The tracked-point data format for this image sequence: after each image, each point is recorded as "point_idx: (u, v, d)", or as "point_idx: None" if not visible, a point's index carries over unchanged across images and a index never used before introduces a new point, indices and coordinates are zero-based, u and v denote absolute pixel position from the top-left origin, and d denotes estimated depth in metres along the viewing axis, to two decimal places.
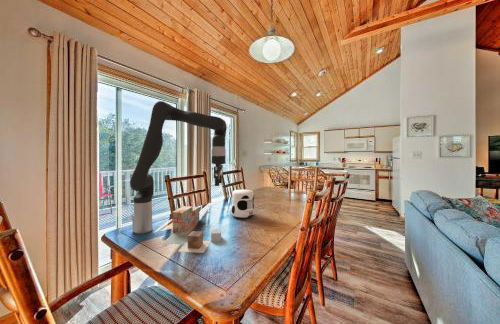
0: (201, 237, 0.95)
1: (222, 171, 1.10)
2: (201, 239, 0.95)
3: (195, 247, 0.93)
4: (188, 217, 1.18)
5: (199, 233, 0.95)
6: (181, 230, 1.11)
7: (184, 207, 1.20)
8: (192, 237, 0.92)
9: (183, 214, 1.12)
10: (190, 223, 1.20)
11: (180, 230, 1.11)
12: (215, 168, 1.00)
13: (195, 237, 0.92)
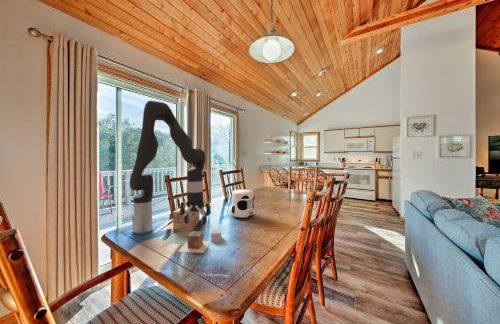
0: (201, 237, 0.95)
1: None
2: (201, 239, 0.95)
3: (195, 247, 0.93)
4: (189, 216, 1.18)
5: (199, 233, 0.95)
6: (181, 230, 1.11)
7: None
8: (192, 237, 0.92)
9: None
10: (190, 223, 1.20)
11: (180, 230, 1.11)
12: (209, 204, 0.93)
13: (195, 237, 0.92)
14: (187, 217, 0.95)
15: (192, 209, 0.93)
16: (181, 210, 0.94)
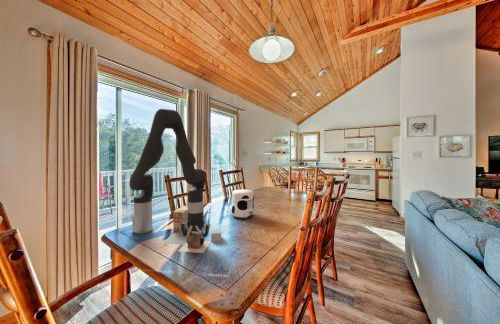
0: None
1: None
2: None
3: (195, 247, 0.93)
4: None
5: None
6: None
7: (184, 207, 1.20)
8: (192, 237, 0.92)
9: (184, 214, 1.12)
10: None
11: (181, 230, 1.12)
12: (208, 226, 0.94)
13: (195, 237, 0.92)
14: None
15: (193, 229, 0.94)
16: (183, 231, 0.94)
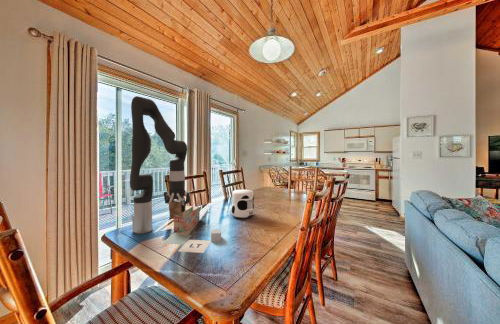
0: None
1: None
2: None
3: (176, 213, 0.99)
4: (189, 216, 1.18)
5: None
6: (182, 229, 1.12)
7: (185, 207, 1.20)
8: (174, 204, 0.99)
9: (184, 214, 1.12)
10: (191, 222, 1.21)
11: (181, 229, 1.12)
12: (189, 194, 1.00)
13: (177, 204, 0.99)
14: None
15: (175, 197, 1.00)
16: (165, 199, 1.01)
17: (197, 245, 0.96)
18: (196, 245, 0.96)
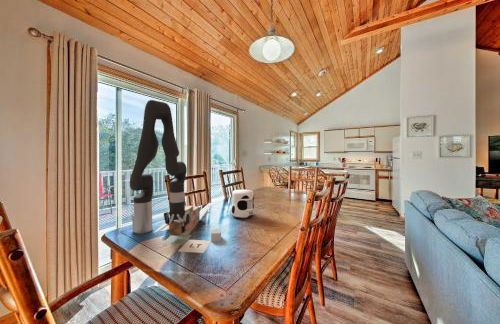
0: None
1: None
2: None
3: (176, 234, 0.99)
4: None
5: None
6: None
7: (185, 207, 1.21)
8: (174, 225, 0.99)
9: None
10: (191, 222, 1.21)
11: None
12: (189, 215, 1.01)
13: (177, 225, 0.99)
14: None
15: (175, 217, 1.01)
16: (165, 220, 1.01)
17: (197, 245, 0.96)
18: (196, 245, 0.96)
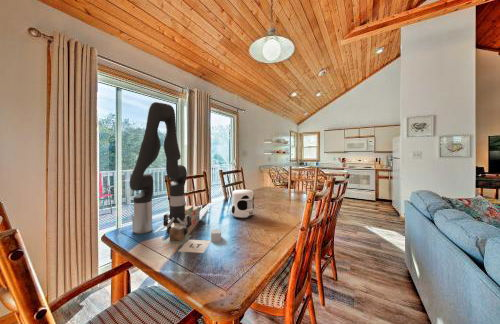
0: (182, 231, 1.03)
1: None
2: (182, 233, 1.03)
3: (176, 240, 1.00)
4: None
5: (181, 227, 1.02)
6: None
7: (185, 206, 1.21)
8: (174, 231, 0.99)
9: (185, 213, 1.13)
10: (191, 222, 1.21)
11: None
12: (189, 217, 1.01)
13: (177, 231, 0.99)
14: (170, 228, 1.03)
15: (174, 221, 1.01)
16: (164, 222, 1.01)
17: (197, 245, 0.96)
18: (196, 245, 0.96)
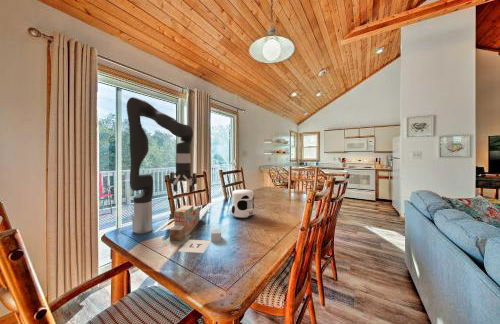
0: (182, 231, 1.03)
1: None
2: (182, 233, 1.03)
3: (176, 240, 1.00)
4: (190, 216, 1.19)
5: (181, 227, 1.02)
6: None
7: (185, 206, 1.21)
8: (174, 231, 0.99)
9: (185, 213, 1.13)
10: (191, 222, 1.21)
11: None
12: (195, 175, 1.04)
13: (177, 231, 0.99)
14: (176, 186, 1.06)
15: (180, 178, 1.04)
16: (170, 179, 1.05)
17: (197, 245, 0.96)
18: (196, 245, 0.96)
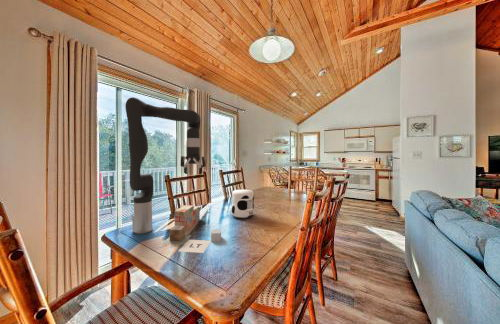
0: (182, 231, 1.03)
1: None
2: (182, 233, 1.03)
3: (176, 240, 1.00)
4: (190, 215, 1.19)
5: (181, 227, 1.02)
6: None
7: (185, 206, 1.21)
8: (174, 231, 0.99)
9: (185, 213, 1.13)
10: (191, 222, 1.22)
11: None
12: (204, 158, 1.13)
13: (177, 231, 0.99)
14: (186, 169, 1.14)
15: (190, 162, 1.13)
16: (181, 162, 1.13)
17: (197, 245, 0.96)
18: (196, 245, 0.96)
